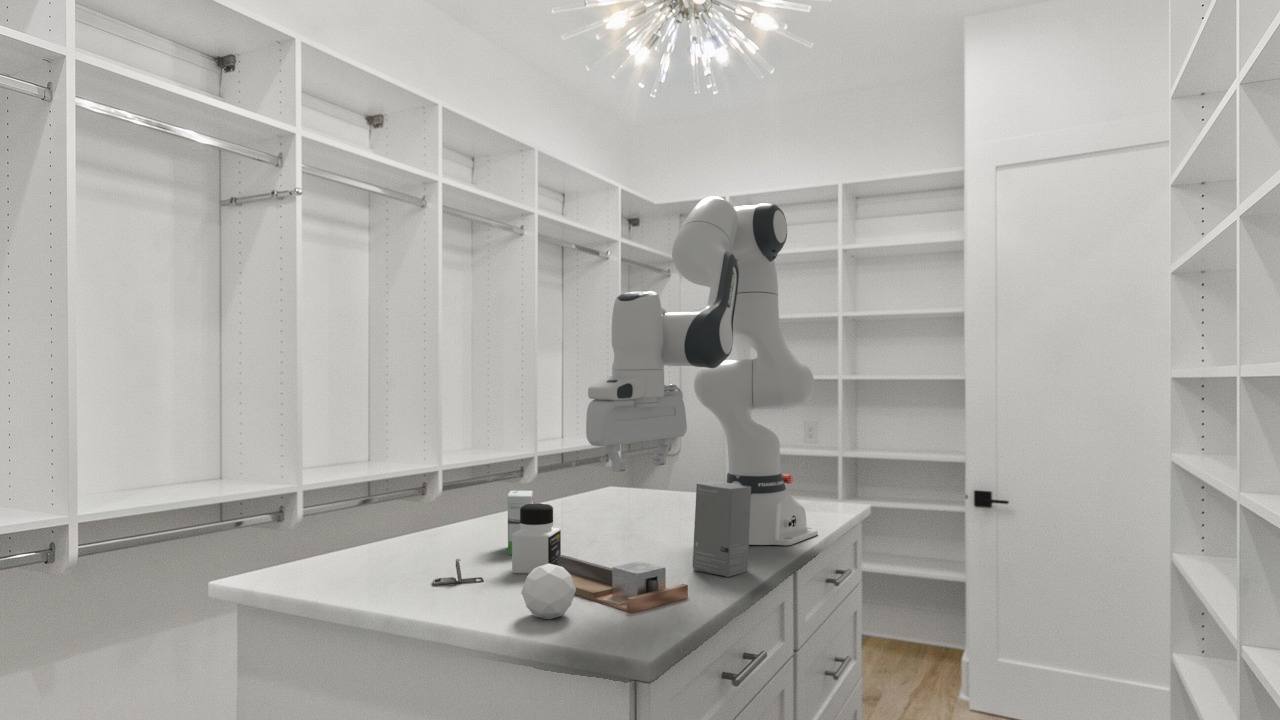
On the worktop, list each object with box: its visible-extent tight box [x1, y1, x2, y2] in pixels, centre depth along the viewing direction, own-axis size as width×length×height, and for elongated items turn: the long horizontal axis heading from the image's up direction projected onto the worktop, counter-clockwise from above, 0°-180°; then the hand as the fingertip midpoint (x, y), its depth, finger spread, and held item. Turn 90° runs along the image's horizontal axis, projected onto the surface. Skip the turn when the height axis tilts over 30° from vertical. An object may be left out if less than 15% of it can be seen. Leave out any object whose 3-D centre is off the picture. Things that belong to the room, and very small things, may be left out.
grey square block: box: [611, 560, 667, 600], centre depth 125 cm, size 6×6×4 cm
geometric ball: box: [521, 564, 576, 620], centre depth 116 cm, size 8×8×8 cm
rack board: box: [558, 554, 689, 614], centre depth 131 cm, size 12×26×3 cm, turn 42°
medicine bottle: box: [511, 502, 562, 575], centre depth 145 cm, size 7×7×12 cm
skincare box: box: [692, 481, 751, 578], centre depth 143 cm, size 8×7×16 cm
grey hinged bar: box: [432, 558, 485, 587], centre depth 136 cm, size 8×3×4 cm, turn 108°
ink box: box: [507, 490, 534, 555], centre depth 161 cm, size 9×5×12 cm, turn 6°
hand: (639, 468), depth 133 cm, fingers open, 8 cm apart
